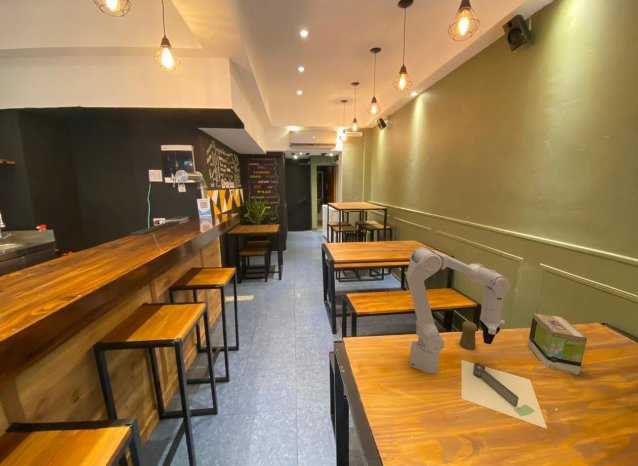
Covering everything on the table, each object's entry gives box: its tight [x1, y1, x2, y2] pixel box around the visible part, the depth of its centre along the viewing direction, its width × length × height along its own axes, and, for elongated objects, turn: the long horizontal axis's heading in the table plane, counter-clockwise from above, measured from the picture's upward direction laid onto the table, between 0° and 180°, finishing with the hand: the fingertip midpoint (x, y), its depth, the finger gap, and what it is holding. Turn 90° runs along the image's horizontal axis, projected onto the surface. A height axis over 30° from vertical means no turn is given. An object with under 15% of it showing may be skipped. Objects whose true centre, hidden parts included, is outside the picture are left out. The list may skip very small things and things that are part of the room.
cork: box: [459, 320, 478, 351], centre depth 102 cm, size 6×6×11 cm
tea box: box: [527, 312, 588, 376], centre depth 95 cm, size 15×10×15 cm, turn 161°
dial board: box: [461, 359, 548, 430], centre depth 81 cm, size 20×20×1 cm
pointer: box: [473, 362, 519, 406], centre depth 81 cm, size 15×3×3 cm, turn 14°
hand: (487, 342), depth 89 cm, fingers closed
